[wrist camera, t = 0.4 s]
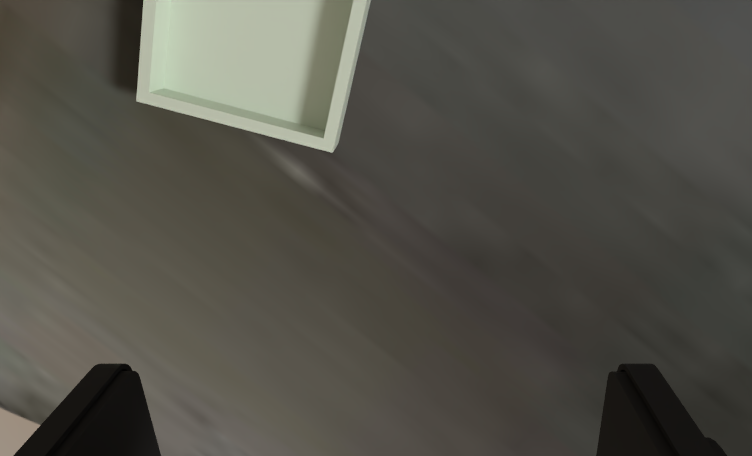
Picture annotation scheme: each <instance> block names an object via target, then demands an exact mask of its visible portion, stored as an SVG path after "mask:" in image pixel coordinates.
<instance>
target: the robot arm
mask: <svg viewBox="0 0 752 456" xmlns="http://www.w3.org/2000/svg"><path fill="white" fill-rule="evenodd" d="M14 456H161V454H160V450H159V447H158V443H157V439H156V436H155V432H154V428H153V424H152V421H151V417H150V413H149V410H148V406H147V402H146V399H145V395H144V391H143V388H142V384H141V380H140V377H139V374H138V373H137V372H136V371H132V369H131V367H130V366H129V365H127V364H98V365H95V366H94V367H93V368H92V369H91V370H90V371H89V372H88V373H87V374H86V376H85V377H84V378H83V379H82V380H81V381H80V382H79V383H78V384H77V386H76V387H75V388H74V389H73V390H72V391H71V392H70V393H69V394H68V396H67V397H66V398H65V399H64V400H63V401H62V402H61V403H60V405H59V406H58V407H57V408H56V409H55V410H54V411H53V412H52V413H51V415H50V416H49V417H48V418H47V419H46V420H45V421H44V422H43V423H42V425H41V426H40V427H39V428H38V429H37V430H36V431H35V432H34V434H33V435H32V436H31V437H30V438H29V439H28V440H27V441H26V442H25V443H24V445H23V446H22V447H21V448H20V449H19V450H18V451H17V452H16V453H15V455H14ZM596 456H727V455H726V454H725V452H724V451H723V449H722V448H721V447H720V446H719V445H718V444H717V442H716V441H714V440H712V439H711V438H705V437H704V435H703V434H702V433H701V431H700V430H699V428H698V427H697V425H696V424H695V422H694V421H693V419H692V418H691V416H690V415H689V414H688V412H687V411H686V409H685V408H684V406H683V405H682V403H681V402H680V400H679V399H678V397H677V396H676V395H675V393H674V392H673V390H672V389H671V387H670V386H669V384H668V383H667V381H666V380H665V378H664V377H663V376H662V374H661V373H660V371H659V370H658V368H657V367H656V366H655V365H653V364H621V365H619V367H618V370H617V372H610V373H609V375H608V380H607V387H606V394H605V400H604V407H603V414H602V421H601V428H600V435H599V441H598V448H597V455H596Z"/></svg>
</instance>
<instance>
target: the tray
mask: <svg viewBox="0 0 752 456" xmlns="http://www.w3.org/2000/svg"><path fill="white" fill-rule="evenodd" d="M370 1H371V0H143V14H142V28H141V42H140V56H139V70H138V84H137V98H136V101H138V102H141V103H145V104H149V105H153V106H157V107H160V108H164V109H168V110H172V111H176V112H179V113H183V114H187V115H191V116H195V117H198V118H202V119H206V120H210V121H214V122H217V123H221V124H225V125H229V126H233V127H236V128H240V129H244V130H248V131H252V132H255V133H259V134H263V135H267V136H271V137H274V138H278V139H282V140H286V141H290V142H293V143H297V144H301V145H305V146H309V147H312V148H316V149H320V150H324V151H328V152H332V153H333V151H334V149H335V148H336V146H337V144H338V142H339V137H340V133H341V129H342V124H343V120H344V116H345V111H346V107H347V102H348V98H349V94H350V89H351V85H352V80H353V76H354V72H355V67H356V63H357V58H358V54H359V50H360V45H361V41H362V36H363V32H364V28H365V23H366V19H367V14H368V10H369V6H370Z"/></svg>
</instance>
